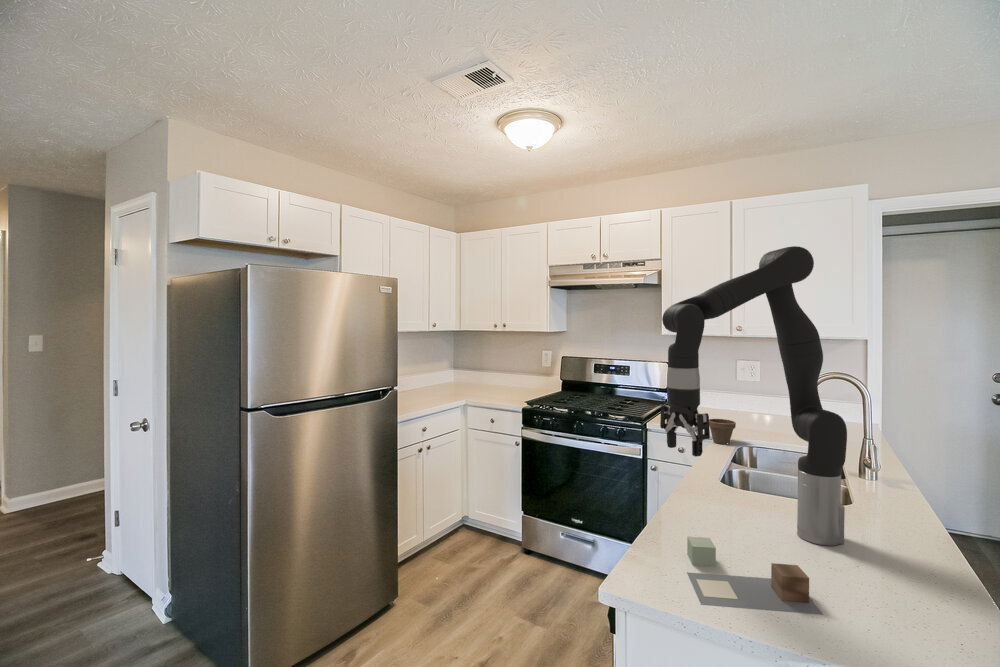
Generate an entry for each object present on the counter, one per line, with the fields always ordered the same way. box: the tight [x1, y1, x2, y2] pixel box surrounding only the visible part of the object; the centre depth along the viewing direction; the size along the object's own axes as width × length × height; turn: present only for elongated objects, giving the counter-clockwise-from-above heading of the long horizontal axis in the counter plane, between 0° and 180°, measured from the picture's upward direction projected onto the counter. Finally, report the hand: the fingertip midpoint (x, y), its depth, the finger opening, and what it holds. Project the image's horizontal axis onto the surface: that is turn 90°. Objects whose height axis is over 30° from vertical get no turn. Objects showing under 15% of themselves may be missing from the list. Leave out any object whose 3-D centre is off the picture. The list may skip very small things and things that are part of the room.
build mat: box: [686, 571, 825, 615], centre depth 98 cm, size 22×12×1 cm, turn 81°
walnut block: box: [770, 563, 810, 603], centre depth 96 cm, size 5×5×5 cm
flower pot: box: [709, 418, 737, 445], centre depth 217 cm, size 12×11×10 cm
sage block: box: [686, 536, 717, 568], centre depth 110 cm, size 5×5×5 cm
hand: (683, 451), depth 117 cm, fingers open, 8 cm apart
